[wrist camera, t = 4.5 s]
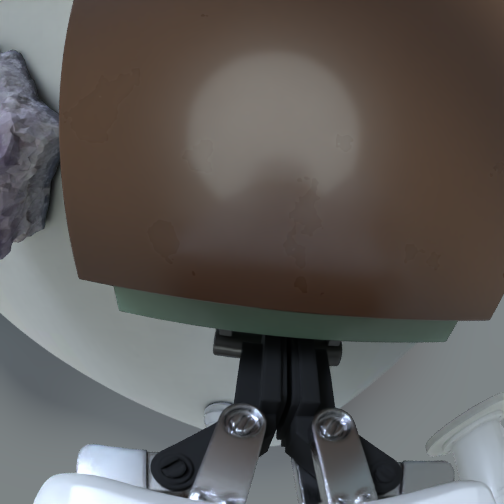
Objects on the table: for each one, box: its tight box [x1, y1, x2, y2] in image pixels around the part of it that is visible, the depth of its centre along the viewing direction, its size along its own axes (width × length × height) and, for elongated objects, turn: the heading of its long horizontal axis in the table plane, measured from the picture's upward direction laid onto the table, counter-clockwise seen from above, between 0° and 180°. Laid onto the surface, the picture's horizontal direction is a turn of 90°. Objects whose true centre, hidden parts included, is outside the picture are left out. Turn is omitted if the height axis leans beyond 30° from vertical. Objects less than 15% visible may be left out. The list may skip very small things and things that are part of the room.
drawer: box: [114, 286, 458, 366], centre depth 10 cm, size 18×11×9 cm, turn 175°
